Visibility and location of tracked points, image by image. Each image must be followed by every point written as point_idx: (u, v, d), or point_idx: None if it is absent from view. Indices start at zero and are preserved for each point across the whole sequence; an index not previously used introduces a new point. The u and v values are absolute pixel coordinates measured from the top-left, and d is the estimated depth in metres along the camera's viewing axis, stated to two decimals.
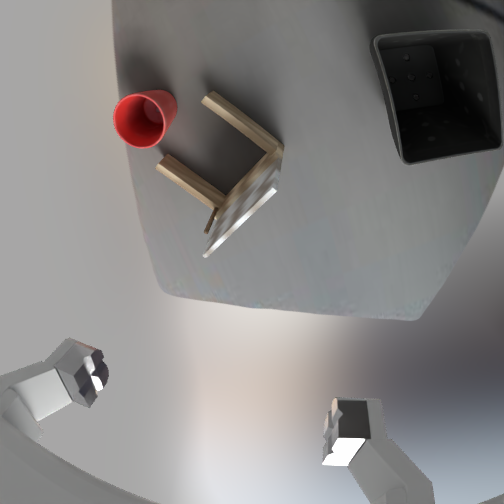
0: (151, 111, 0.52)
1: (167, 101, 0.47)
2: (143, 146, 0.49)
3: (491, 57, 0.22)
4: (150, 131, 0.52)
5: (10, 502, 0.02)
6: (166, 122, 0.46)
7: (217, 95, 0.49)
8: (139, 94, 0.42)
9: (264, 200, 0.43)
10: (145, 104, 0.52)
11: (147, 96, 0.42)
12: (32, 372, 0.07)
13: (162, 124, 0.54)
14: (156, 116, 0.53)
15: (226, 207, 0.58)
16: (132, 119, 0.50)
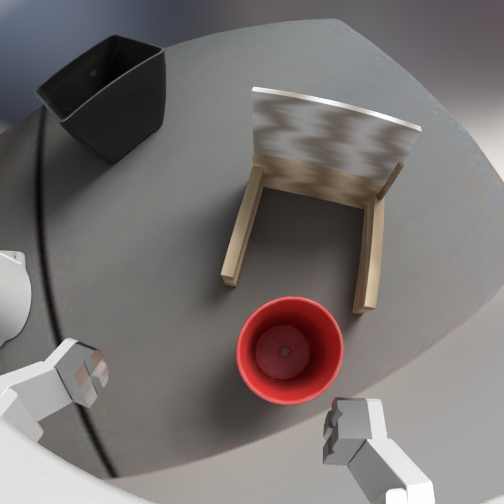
0: (293, 362, 0.35)
1: None
2: (334, 326, 0.28)
3: (52, 78, 0.37)
4: (319, 341, 0.33)
5: (10, 502, 0.02)
6: None
7: None
8: (238, 363, 0.27)
9: (275, 91, 0.28)
10: (285, 376, 0.35)
11: (236, 347, 0.28)
12: (32, 372, 0.07)
13: (306, 335, 0.36)
14: (299, 350, 0.36)
15: (363, 178, 0.37)
16: (308, 379, 0.31)
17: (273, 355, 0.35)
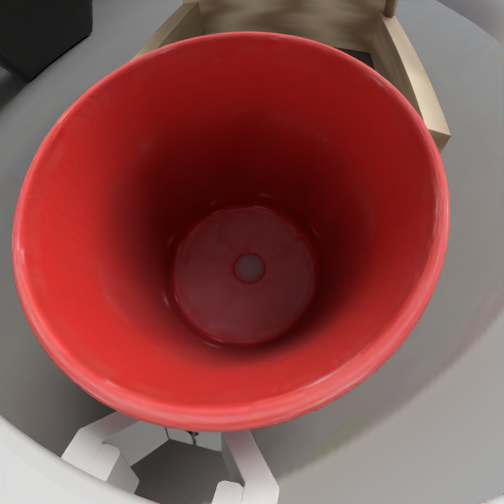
0: (273, 294, 0.13)
1: None
2: (372, 80, 0.07)
3: None
4: (335, 208, 0.11)
5: (10, 502, 0.02)
6: None
7: None
8: (16, 222, 0.06)
9: None
10: (254, 335, 0.13)
11: None
12: (129, 417, 0.06)
13: (300, 221, 0.14)
14: (285, 263, 0.14)
15: None
16: (318, 326, 0.09)
17: (218, 279, 0.14)
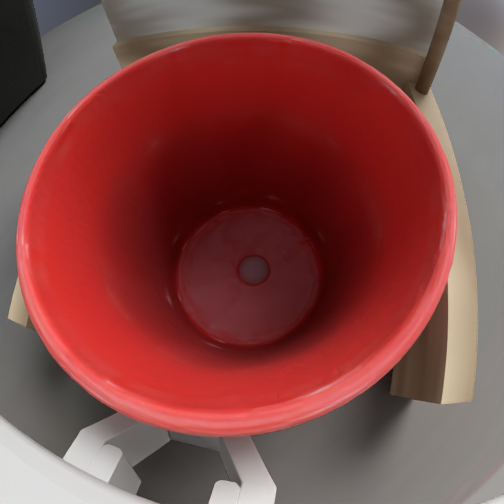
0: (276, 297, 0.13)
1: None
2: (385, 88, 0.07)
3: None
4: (342, 215, 0.11)
5: (10, 502, 0.02)
6: None
7: None
8: None
9: None
10: (255, 337, 0.13)
11: None
12: (131, 418, 0.06)
13: (306, 225, 0.14)
14: (290, 266, 0.14)
15: (374, 41, 0.11)
16: (320, 332, 0.09)
17: (221, 280, 0.14)
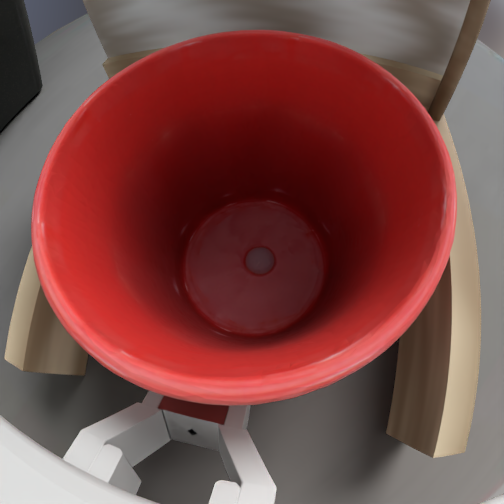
0: (282, 287, 0.14)
1: None
2: (388, 83, 0.07)
3: None
4: (347, 206, 0.11)
5: (10, 502, 0.02)
6: None
7: None
8: None
9: None
10: (261, 327, 0.13)
11: None
12: (131, 418, 0.06)
13: (312, 217, 0.14)
14: (295, 257, 0.14)
15: (385, 61, 0.11)
16: (326, 317, 0.09)
17: (228, 270, 0.14)
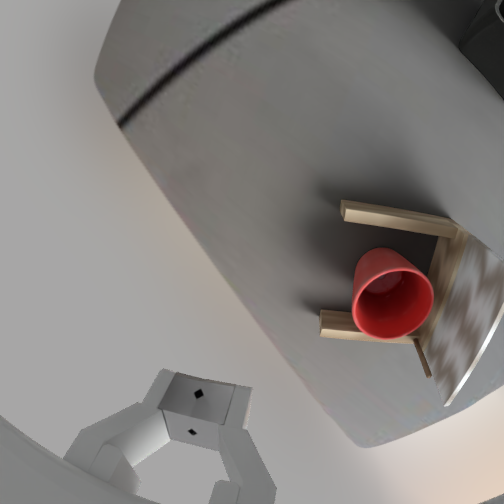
0: (371, 281, 0.41)
1: (408, 261, 0.34)
2: (405, 332, 0.34)
3: None
4: (389, 307, 0.39)
5: (10, 502, 0.02)
6: None
7: (351, 202, 0.37)
8: (390, 269, 0.31)
9: None
10: None
11: (402, 267, 0.30)
12: (131, 418, 0.06)
13: (392, 291, 0.41)
14: (380, 285, 0.41)
15: (431, 332, 0.36)
16: (361, 303, 0.38)
17: None
